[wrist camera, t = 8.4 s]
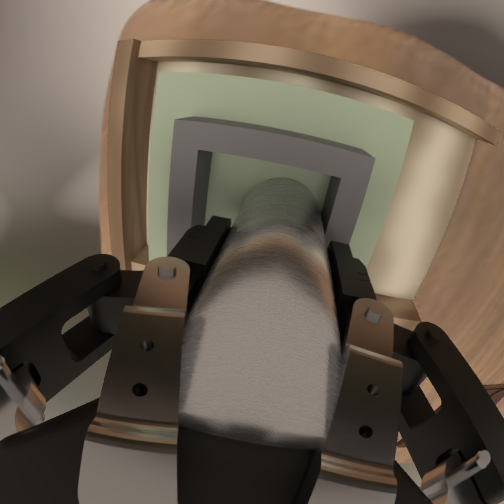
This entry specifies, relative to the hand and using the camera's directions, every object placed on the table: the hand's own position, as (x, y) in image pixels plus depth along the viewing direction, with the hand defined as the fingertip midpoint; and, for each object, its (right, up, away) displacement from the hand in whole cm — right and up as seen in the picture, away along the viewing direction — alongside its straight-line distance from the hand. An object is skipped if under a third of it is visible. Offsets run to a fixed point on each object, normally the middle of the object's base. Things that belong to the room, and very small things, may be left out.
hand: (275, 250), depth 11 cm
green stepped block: (+1, +5, +9) cm, 10 cm away
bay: (+3, +5, +10) cm, 11 cm away
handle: (+1, +2, +3) cm, 4 cm away
